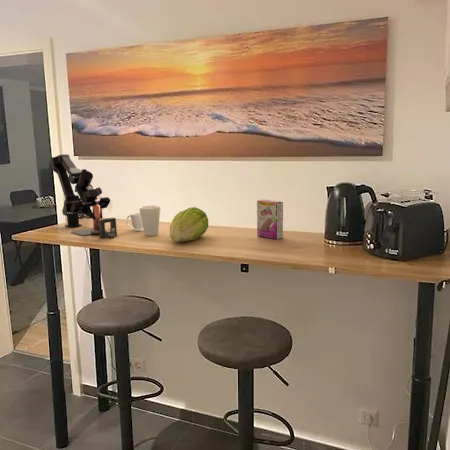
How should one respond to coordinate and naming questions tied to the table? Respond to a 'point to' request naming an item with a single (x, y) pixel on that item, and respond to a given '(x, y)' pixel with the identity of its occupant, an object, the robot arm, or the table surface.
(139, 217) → the cup
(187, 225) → the lettuce
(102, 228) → the brown square arch
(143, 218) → the foam cup
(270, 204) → the candy bar box
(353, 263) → the table surface
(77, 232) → the mat
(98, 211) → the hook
